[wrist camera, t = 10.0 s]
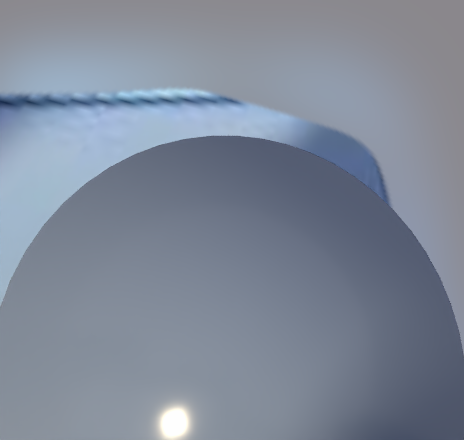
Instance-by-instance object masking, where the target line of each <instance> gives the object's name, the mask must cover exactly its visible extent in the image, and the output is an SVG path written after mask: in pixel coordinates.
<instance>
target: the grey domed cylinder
mask: <svg viewBox="0 0 464 440" xmlns="http://www.w3.org/2000/svg"><path fill="white" fill-rule="evenodd" d="M0 440H464V355H463V350H462V344H461V339H460V334H459V330H458V326H457V323H456V320H455V316H454V313H453V310H452V306H451V303H450V301H449V298H448V296H447V294H446V291H445V289H444V286H443V285H442V282H441V280H440V277H439V275H438V273H437V272H436V270H435V268H434V266H433V264H432V262H431V261H430V259H429V257H428V255H427V253H426V252H425V250H424V249H423V247H422V246H421V244H420V243H419V242H418V240H417V239H416V237H415V236H414V234H413V233H412V231H411V230H410V229H409V228H408V227H407V225H406V224H405V223H404V222H403V221H402V220H401V218H400V217H399V216H398V215H397V214H396V212H395V211H394V210H393V209H392V208H391V207H390V206H389V205H388V204H386V203H385V202H384V201H383V200H382V199H381V198H380V197H379V196H378V195H377V194H376V193H375V192H374V191H372V190H371V189H370V188H368V187H367V186H366V185H365V184H363V183H362V182H361V181H359V180H358V179H357V178H355V177H354V176H352V175H351V174H349V173H348V172H346V171H344V170H343V169H341V168H339V167H338V166H336V165H335V164H333V163H331V162H329V161H327V160H325V159H322V158H320V157H318V156H316V155H314V154H312V153H310V152H307V151H304V150H301V149H298V148H295V147H293V146H290V145H287V144H283V143H278V142H274V141H270V140H265V139H260V138H251V137H242V136H206V137H198V138H189V139H183V140H179V141H175V142H171V143H166V144H162V145H159V146H156V147H153V148H151V149H148V150H145V151H143V152H140V153H137V154H135V155H133V156H131V157H129V158H127V159H125V160H123V161H121V162H119V163H117V164H115V165H113V166H111V167H109V168H108V169H106V170H105V171H103V172H102V173H101V174H99V175H98V176H96V177H95V178H93V179H92V180H90V181H89V182H87V183H86V184H85V185H84V186H82V187H81V188H80V189H79V190H78V191H77V192H76V193H74V194H73V195H72V196H71V197H70V198H69V199H68V200H66V201H65V202H64V203H63V204H62V205H61V207H60V208H59V209H58V210H57V211H56V212H55V213H54V214H53V215H52V217H51V218H50V219H49V220H48V221H47V222H46V223H45V224H44V226H43V227H42V228H41V230H40V231H39V233H38V234H37V236H36V237H35V239H34V240H33V241H32V243H31V244H30V246H29V247H28V249H27V250H26V252H25V253H24V255H23V257H22V259H21V261H20V263H19V265H18V267H17V269H16V271H15V273H14V275H13V277H12V278H11V280H10V283H9V285H8V288H7V291H6V294H5V296H4V299H3V302H2V305H1V307H0Z"/></svg>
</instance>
